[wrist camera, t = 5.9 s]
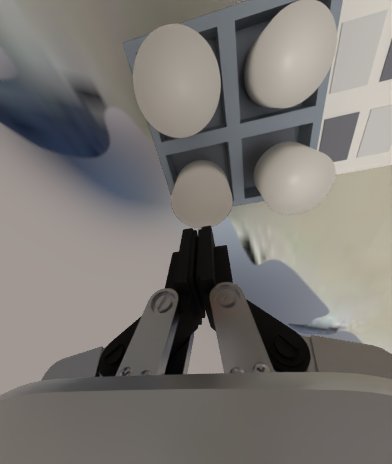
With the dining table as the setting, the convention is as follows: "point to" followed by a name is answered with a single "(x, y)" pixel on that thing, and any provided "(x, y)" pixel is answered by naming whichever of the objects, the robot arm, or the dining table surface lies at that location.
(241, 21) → the button board
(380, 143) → the card
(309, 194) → the button
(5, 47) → the dining table surface
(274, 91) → the button
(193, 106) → the button
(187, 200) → the button
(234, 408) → the robot arm
